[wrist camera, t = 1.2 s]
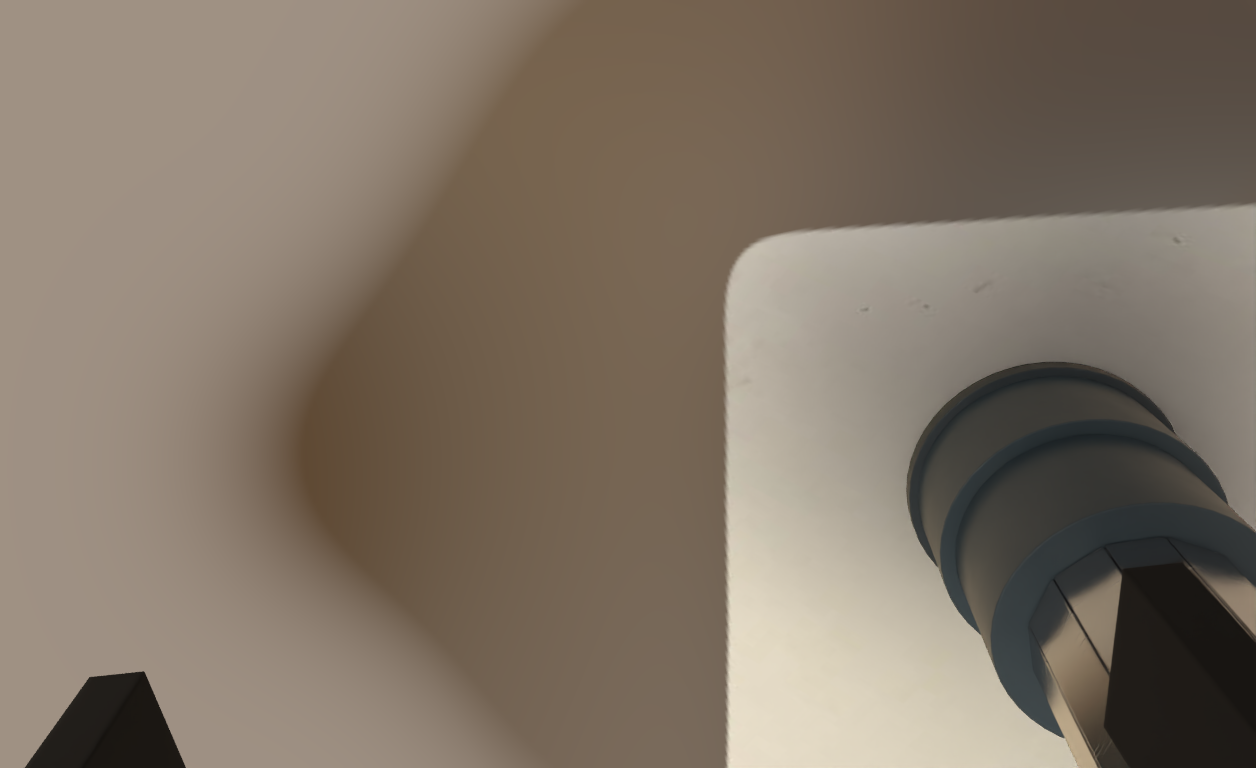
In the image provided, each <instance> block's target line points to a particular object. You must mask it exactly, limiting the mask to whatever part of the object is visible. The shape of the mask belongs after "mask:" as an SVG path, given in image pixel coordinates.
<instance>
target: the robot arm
mask: <svg viewBox="0 0 1256 768" xmlns="http://www.w3.org/2000/svg"><path fill="white" fill-rule="evenodd" d="M1104 728H1105V730H1106V731H1107V733H1108V735H1109V736H1110V738H1111V739H1112V741H1113V743H1114V744H1115V746H1116V747H1117V749H1118V751H1119V752H1120V754H1121V755H1122V757H1123V759H1124V760H1125V762H1126V763H1127V765H1128V767H1129V768H1256V642H1255V641H1254V640H1253V639H1252V638H1251V637H1250V635H1249V634H1248V633H1247V632H1246V631H1245V630H1244V629H1243V628H1242V627H1241V626H1240V625H1239V623H1238V622H1237V621H1236V620H1235V619H1234V618H1233V617H1232V616H1231V615H1230V614H1229V613H1228V612H1227V610H1226V609H1225V608H1224V607H1223V606H1222V605H1221V604H1220V603H1219V602H1218V601H1217V600H1216V598H1215V597H1214V596H1213V595H1212V594H1211V593H1210V592H1209V591H1208V590H1207V589H1206V588H1205V587H1204V585H1203V584H1202V583H1201V582H1200V581H1199V580H1198V579H1197V578H1196V577H1195V576H1194V575H1193V573H1192V572H1191V571H1190V570H1189V569H1188V568H1187V567H1186V566H1185V565H1184V564H1183V563H1182V562H1181V563H1172V564H1162V565H1153V566H1143V567H1134V568H1124V569H1123V571H1122V579H1121V587H1120V596H1119V604H1118V612H1117V620H1116V628H1115V637H1114V645H1113V653H1112V661H1111V669H1110V678H1109V686H1108V694H1107V702H1106V711H1105V719H1104ZM25 768H186V767H185V765H184V762H183V760H182V758H181V756H180V753H179V751H178V748H177V746H176V744H175V742H174V739H173V737H172V735H171V732H170V730H169V728H168V725H167V723H166V721H165V718H164V716H163V714H162V711H161V709H160V707H159V705H158V702H157V700H156V697H155V695H154V693H153V691H152V688H151V686H150V684H149V681H148V679H147V677H146V674H145V672H135V673H125V674H116V675H107V676H97V677H89V679H88V680H87V682H86V683H85V684H84V686H83V687H82V689H81V690H80V691H79V693H78V694H77V696H76V697H75V698H74V700H73V701H72V703H71V704H70V705H69V707H68V708H67V709H66V711H65V712H64V714H63V715H62V716H61V718H60V719H59V721H58V722H57V724H56V725H55V726H54V728H53V729H52V730H51V732H50V733H49V735H48V736H47V738H46V739H45V740H44V742H43V743H42V745H41V746H40V747H39V749H38V750H37V751H36V753H35V754H34V756H33V757H32V758H31V760H30V761H29V763H28V764H27V766H26V767H25Z"/></svg>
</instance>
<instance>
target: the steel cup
mask: <svg viewBox="0 0 1256 768" xmlns="http://www.w3.org/2000/svg"><path fill="white" fill-rule="evenodd" d="M1104 547H1105V548H1103V547H1102V546H1101V547H1099V548H1097V549H1096V550H1094V551H1093V552H1091V553H1090V554H1088V555H1087V556H1085V557H1084V558H1082V559H1080V560H1079V561H1077V562H1076V563H1074V564H1073V565H1071V566H1070V567H1068V568H1067V569H1065V570H1064V571H1062V572H1061V573H1059V574H1057V575H1056V576H1055V577H1054V579H1055V580H1051V581H1050V583H1049V585H1048V587H1047V589H1046V591H1045V593H1044V594H1043V596H1042V598H1041V600H1040V602H1039V604H1038V606H1037V608H1036V609H1035V611H1034V613H1033V615H1032V617H1031V619H1030V621H1029V626H1028V634H1029V642H1030V650H1031V658H1032V666H1033V671H1034V673H1035V675H1036V678H1037V680H1038V682H1039V684H1040V686H1041V688H1042V690H1043V692H1044V695H1045V697H1046V699H1047V701H1048V703H1049V705H1050V707H1051V709H1052V712H1053V714H1054V716H1055V718H1056V720H1057V722H1058V724H1059V726H1060V729H1061V731H1062V733H1063V735H1064V737H1065V739H1066V741H1067V743H1068V746H1069V748H1070V750H1071V752H1072V754H1073V756H1074V758H1075V760H1076V763H1077V765H1078V767H1079V768H1129V767H1128V765H1127V763H1126V762H1125V760H1124V759H1123V757H1122V755H1121V754H1120V752H1119V751H1118V749H1117V747H1116V746H1115V744H1114V743H1113V741H1112V739H1111V738H1110V736H1109V735H1108V733H1107V731H1106V730H1105V728H1104V719H1105V711H1106V702H1107V694H1108V686H1109V678H1110V669H1111V661H1112V653H1113V645H1114V637H1115V628H1116V620H1117V612H1118V604H1119V596H1120V587H1121V579H1122V571H1123V569H1124V568H1134V567H1143V566H1153V565H1162V564H1172V563H1181V562H1182V563H1183V564H1184V565H1185V566H1186V567H1187V568H1188V569H1189V570H1190V571H1191V572H1192V573H1193V575H1194V576H1195V577H1196V578H1197V579H1198V580H1199V581H1200V582H1201V583H1202V584H1203V585H1204V587H1205V588H1206V589H1207V590H1208V591H1209V592H1210V593H1211V594H1212V595H1213V596H1214V597H1215V598H1216V600H1217V601H1218V602H1219V603H1220V604H1221V605H1222V606H1223V607H1224V608H1225V609H1226V610H1227V612H1228V613H1229V614H1230V615H1231V616H1232V617H1233V618H1234V619H1235V620H1236V621H1237V622H1238V623H1239V625H1240V626H1241V627H1242V628H1243V629H1244V630H1245V631H1246V632H1247V633H1248V634H1249V635H1250V637H1251V638H1252V639H1253V640H1254V641H1255V642H1256V588H1255V587H1254V586H1253V585H1252V584H1251V583H1250V582H1249V580H1248V579H1247V578H1246V577H1245V576H1244V575H1243V574H1242V573H1241V572H1240V571H1239V570H1238V569H1237V568H1236V567H1235V566H1234V565H1233V564H1232V563H1231V562H1230V561H1229V560H1228V559H1227V558H1226V556H1223V555H1222V554H1221V553H1218V552H1215V551H1212V550H1209V549H1206V548H1203V547H1200V546H1196V545H1193V544H1190V543H1187V542H1184V541H1181V540H1178V539H1174V538H1171V537H1166V538H1165V537H1164V536H1161V537H1154V538H1147V539H1140V540H1133V541H1127V542H1120V543H1113V544H1106V545H1105V546H1104Z"/></svg>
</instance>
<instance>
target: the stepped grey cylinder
mask: <svg viewBox="0 0 1256 768" xmlns="http://www.w3.org/2000/svg"><path fill="white" fill-rule="evenodd" d="M907 503H908V509H909V513H910V517H911V521H912V524H913V527H914V529H915V532H916V534H917V537H918V539H919V541H920V543H921V545H922V546H923V548H924V550H925V552H926V553H927V555H928V556H929V557H930V558H931V560H932V561H933V562H934V563H935V565H936V566H937V567H938V568H939V571H940V573H941V576H942V578H943V581H944V584H945V586H946V589H947V591H948V594H949V596H950V598H951V600H952V602H953V603H954V605H955V607H956V608H957V610H958V611H959V613H960V614H961V615H962V616H963V618H964V619H965V620H966V621H967V623H968V624H970V625H971V626H972V627H973V628H974V629H975V630H976V631H977V632H978V633H979V634H981V635H982V638H983V640H984V643H985V645H986V648H987V650H988V653H989V655H990V657H991V660H992V662H993V665H994V667H995V670H996V672H997V674H998V677H999V679H1000V682H1001V683H1002V685H1003V687H1004V688H1005V690H1006V692H1007V694H1008V695H1009V696H1010V698H1011V699H1012V700H1013V701H1014V702H1015V704H1016V705H1017V706H1018V707H1019V708H1020V709H1021V710H1022V711H1023V712H1024V713H1025V714H1026V715H1027V716H1028V717H1029V718H1031V719H1032V720H1033V721H1035V722H1036V723H1038V724H1039V725H1041V726H1042V727H1043V728H1045V729H1047V730H1048V731H1050V732H1052V733H1054V734H1056V735H1058V736H1060V737H1062V738H1065V737H1064V735H1063V733H1062V731H1061V729H1060V726H1059V724H1058V722H1057V720H1056V718H1055V716H1054V714H1053V712H1052V709H1051V707H1050V705H1049V703H1048V701H1047V699H1046V697H1045V695H1044V692H1043V690H1042V688H1041V686H1040V684H1039V682H1038V680H1037V678H1036V675H1035V673H1034V671H1033V666H1032V658H1031V650H1030V642H1029V634H1028V626H1029V621H1030V619H1031V617H1032V615H1033V613H1034V611H1035V609H1036V608H1037V606H1038V604H1039V602H1040V600H1041V598H1042V596H1043V594H1044V593H1045V591H1046V589H1047V587H1048V585H1049V583H1050V581H1051V580H1055V579H1054V577H1055V576H1056V575H1057V574H1059V573H1061V572H1062V571H1064V570H1065V569H1067V568H1068V567H1070V566H1071V565H1073V564H1074V563H1076V562H1077V561H1079V560H1080V559H1082V558H1084V557H1085V556H1087V555H1088V554H1090V553H1091V552H1093V551H1094V550H1096V549H1097V548H1099V547H1101V546H1102V547H1103V548H1105V547H1104V546H1105V545H1106V544H1113V543H1120V542H1127V541H1133V540H1140V539H1147V538H1154V537H1161V536H1164V537H1165V538H1166V537H1171V538H1174V539H1178V540H1181V541H1184V542H1187V543H1190V544H1193V545H1196V546H1200V547H1203V548H1206V549H1209V550H1212V551H1215V552H1218V553H1221V554H1222V555H1223V556H1226V558H1227V559H1228V560H1229V561H1230V562H1231V563H1232V564H1233V565H1234V566H1235V567H1236V568H1237V569H1238V570H1239V571H1240V572H1241V573H1242V574H1243V575H1244V576H1245V577H1246V578H1247V579H1248V580H1249V582H1250V583H1251V584H1252V585H1253V586H1254V587H1255V588H1256V531H1255V530H1254V529H1253V528H1252V527H1251V526H1250V525H1249V524H1247V523H1246V522H1245V521H1244V520H1243V519H1242V518H1241V517H1240V516H1239V515H1238V514H1237V513H1236V512H1235V511H1234V510H1232V509H1231V508H1230V507H1229V506H1228V502H1227V499H1226V496H1225V493H1224V491H1223V489H1222V487H1221V485H1220V483H1219V481H1218V479H1217V477H1216V476H1215V475H1214V473H1213V472H1212V470H1211V469H1210V468H1209V466H1208V465H1207V464H1206V463H1205V462H1204V461H1203V460H1202V459H1201V458H1200V457H1199V456H1198V455H1197V454H1196V453H1195V452H1194V451H1193V450H1192V449H1191V448H1190V447H1189V446H1188V445H1186V444H1185V443H1184V442H1183V441H1182V440H1181V439H1180V438H1178V437H1177V436H1176V434H1175V432H1174V430H1173V428H1172V426H1171V424H1170V422H1169V421H1168V420H1167V418H1166V417H1165V415H1164V414H1163V413H1162V411H1161V410H1160V409H1159V408H1158V407H1157V406H1156V405H1155V404H1154V403H1153V402H1152V401H1151V400H1150V399H1149V398H1148V397H1147V396H1145V395H1144V394H1143V393H1142V392H1140V391H1139V390H1138V389H1136V388H1135V387H1134V386H1133V385H1131V384H1130V383H1128V382H1126V381H1124V380H1123V379H1121V378H1119V377H1117V376H1115V375H1113V374H1110V373H1108V372H1105V371H1103V370H1100V369H1097V368H1093V367H1089V366H1085V365H1081V364H1073V363H1064V362H1044V363H1035V364H1027V365H1022V366H1018V367H1014V368H1010V369H1006V370H1004V371H1001V372H998V373H995V374H993V375H990V376H988V377H986V378H984V379H982V380H980V381H978V382H976V383H974V384H973V385H971V386H970V387H968V388H967V389H965V390H963V391H962V392H960V393H959V394H958V395H957V396H955V397H954V398H953V399H952V400H951V401H949V402H948V403H947V404H946V405H945V406H944V407H943V408H942V409H941V410H940V411H939V412H938V413H937V415H936V416H935V417H934V418H933V419H932V421H931V422H930V423H929V425H928V426H927V428H926V429H925V430H924V432H923V434H922V436H921V438H920V440H919V441H918V443H917V445H916V448H915V450H914V453H913V456H912V459H911V462H910V466H909V471H908V476H907Z"/></svg>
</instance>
